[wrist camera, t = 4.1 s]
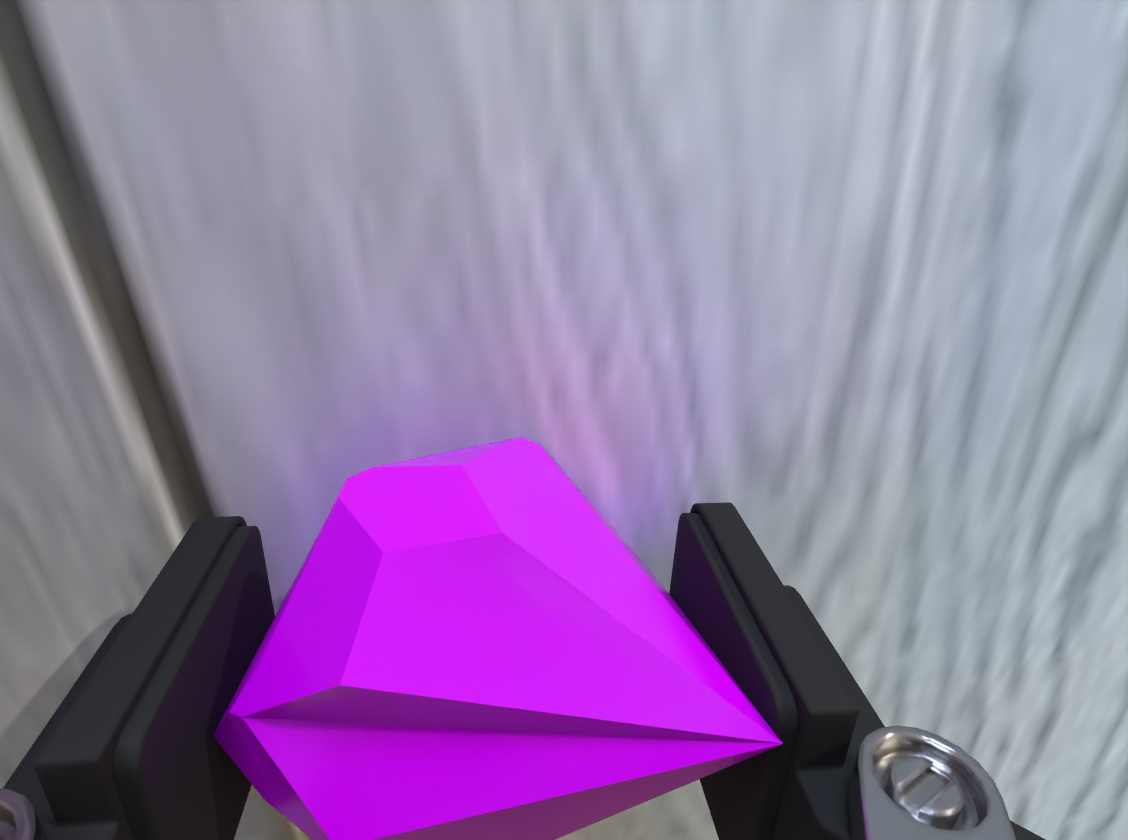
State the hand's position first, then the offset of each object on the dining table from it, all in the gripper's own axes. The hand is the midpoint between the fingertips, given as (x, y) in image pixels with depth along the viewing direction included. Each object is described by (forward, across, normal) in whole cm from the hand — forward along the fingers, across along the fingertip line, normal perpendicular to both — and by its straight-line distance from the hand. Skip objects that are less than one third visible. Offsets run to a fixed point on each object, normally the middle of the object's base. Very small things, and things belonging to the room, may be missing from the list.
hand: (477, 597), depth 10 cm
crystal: (+1, 0, 0) cm, 1 cm away
